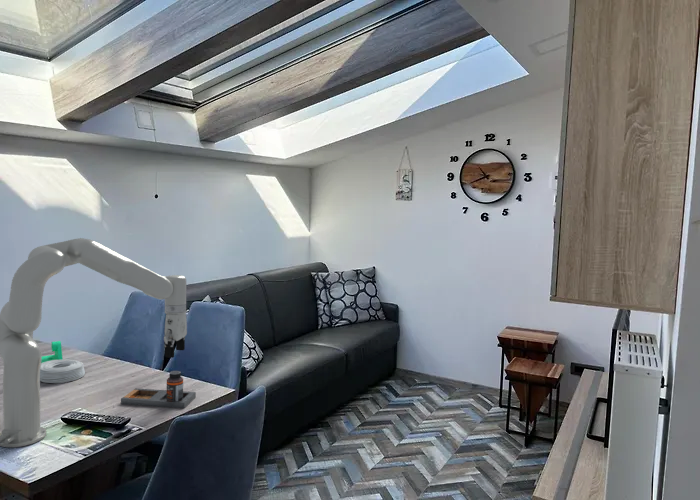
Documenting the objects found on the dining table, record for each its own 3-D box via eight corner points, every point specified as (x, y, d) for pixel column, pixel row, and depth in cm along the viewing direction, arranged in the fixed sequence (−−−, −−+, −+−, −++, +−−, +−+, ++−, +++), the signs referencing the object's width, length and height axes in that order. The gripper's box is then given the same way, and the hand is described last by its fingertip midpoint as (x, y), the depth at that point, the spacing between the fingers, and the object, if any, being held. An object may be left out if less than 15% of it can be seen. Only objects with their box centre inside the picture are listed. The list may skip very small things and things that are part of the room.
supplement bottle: (162, 402, 186) (163, 372, 186) (175, 397, 192) (175, 368, 191) (174, 405, 184) (174, 375, 183) (186, 400, 189) (186, 371, 188)
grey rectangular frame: (184, 408, 182) (184, 402, 182) (120, 404, 183) (120, 398, 183) (195, 397, 193) (195, 392, 193) (135, 393, 194) (135, 388, 194)
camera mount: (39, 362, 228) (39, 340, 227) (58, 359, 232) (58, 338, 232) (42, 369, 218) (42, 346, 217) (62, 366, 223) (62, 344, 222)
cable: (34, 375, 211) (34, 361, 210) (80, 368, 221) (80, 355, 221) (39, 387, 197) (39, 372, 196) (88, 380, 208) (88, 365, 207)
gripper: (175, 313, 176) (175, 361, 178) (194, 304, 193) (193, 347, 195) (155, 312, 177) (154, 359, 178) (175, 303, 194) (174, 346, 195)
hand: (175, 353), depth 186 cm, fingers open, 9 cm apart
